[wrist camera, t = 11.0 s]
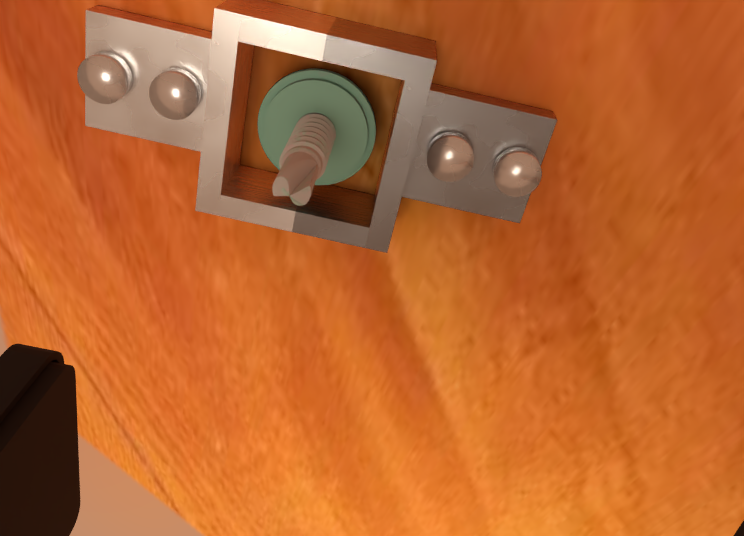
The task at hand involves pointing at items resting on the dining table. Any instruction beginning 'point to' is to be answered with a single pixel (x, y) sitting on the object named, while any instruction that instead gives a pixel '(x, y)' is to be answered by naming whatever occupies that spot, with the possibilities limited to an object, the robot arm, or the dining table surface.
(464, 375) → the dining table surface
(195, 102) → the riveted metal bracket
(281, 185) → the screw
